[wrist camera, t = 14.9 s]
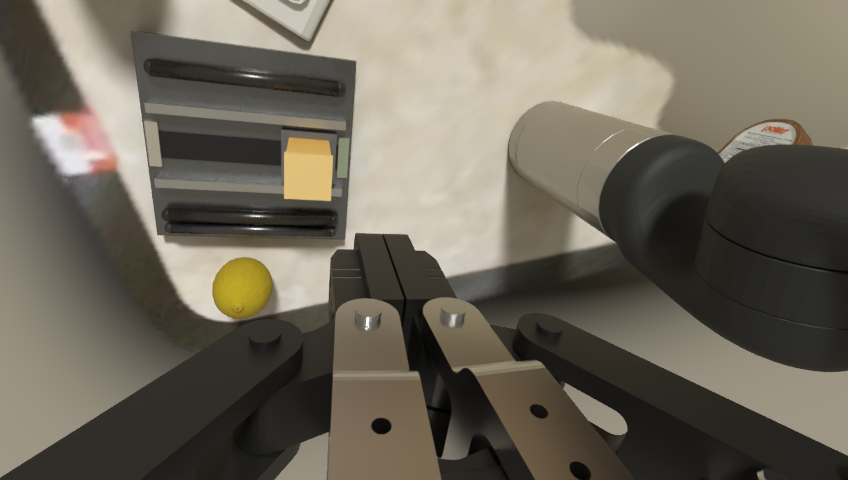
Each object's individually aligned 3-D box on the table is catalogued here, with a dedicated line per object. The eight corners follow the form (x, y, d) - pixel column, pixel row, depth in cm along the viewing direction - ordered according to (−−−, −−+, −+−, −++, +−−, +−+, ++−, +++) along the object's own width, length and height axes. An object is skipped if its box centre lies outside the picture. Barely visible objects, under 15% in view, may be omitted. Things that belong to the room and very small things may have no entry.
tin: (674, 212, 58) (728, 239, 50) (663, 199, 56) (717, 224, 49) (764, 125, 55) (834, 140, 47) (754, 109, 53) (825, 121, 46)
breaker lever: (336, 133, 41) (340, 151, 35) (333, 181, 43) (337, 206, 37) (281, 128, 40) (275, 146, 33) (281, 178, 42) (276, 204, 35)
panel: (354, 60, 40) (357, 62, 38) (343, 233, 48) (345, 245, 45) (137, 31, 36) (124, 31, 33) (162, 228, 43) (152, 241, 40)
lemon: (270, 292, 49) (263, 336, 42) (217, 285, 47) (201, 330, 40) (278, 249, 47) (273, 288, 40) (224, 241, 45) (208, 279, 38)
